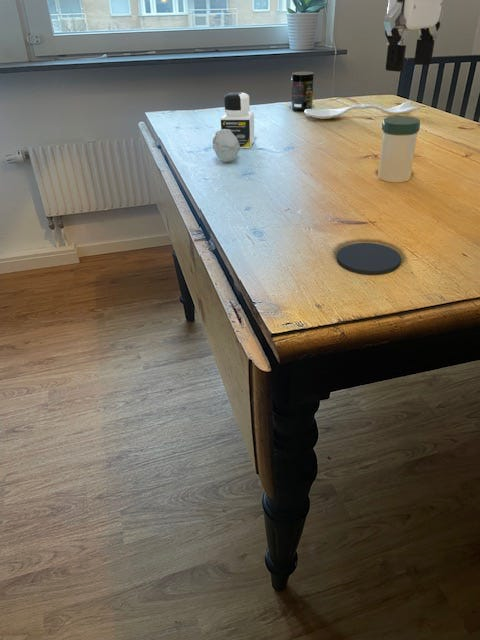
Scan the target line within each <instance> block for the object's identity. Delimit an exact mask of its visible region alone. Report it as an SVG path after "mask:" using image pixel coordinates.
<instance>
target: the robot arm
mask: <svg viewBox="0 0 480 640" xmlns="http://www.w3.org/2000/svg"><path fill="white" fill-rule="evenodd" d="M444 15H445V10H444V8H443V0H388V5H387V12H386V15H385V16H384V17H383V26H384V30H385V31H384V34H385V38H386V46H387V53H386V61H385V70H386V71H387V72H388V71H389V72H398V73H400V72H403V71H404V67H405V65H404V64H405V58H406V51H407V50H406V49H407V45H406V44H405V43H406V40H407V38H408V36H409V33H410V31H413V30H414V31H415V30H417V32H418V36H419V38H418V39H416V46H415V53H414V61H413V63H414V64H415V65H419V66H421V65H423V66H429V65H431V64H432V59H433V54H434V48H435V47H434V46H435V40H436V39H437V38H438V31H439V29H440V28H441V22H442V20H443V17H444ZM400 32H401V33H400Z"/></svg>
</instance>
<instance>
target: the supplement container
mask: <svg viewBox="0 0 480 640" xmlns="http://www.w3.org/2000/svg"><path fill="white" fill-rule="evenodd" d="M314 79H315V72H313V71H295V72H291V97H290V98H291V99H290V100H291V101H290V102H291V103H290V104H291V105H290V107H291V110H292V111H293V112H298V113H299V112H300V113H301V112H303V113H305V109H313V107H314V106H313V103H314V81H315V80H314Z"/></svg>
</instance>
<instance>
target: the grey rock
mask: <svg viewBox="0 0 480 640" xmlns="http://www.w3.org/2000/svg"><path fill="white" fill-rule="evenodd" d="M239 147H240V145H239V142H238V140H237V137H236V136H235V135H234V134H233V133H232V132H231V130H229V129H221V128H220V130H216V131H215V135H214V137H213V138H212V149H213V150H214V153H215V155H216V157H217V158H218V159H219V160H220V161H222V162H224V163H230V162H233V161H234V160H235V159H236V158H237V156H238V154H239V152H240V148H239Z"/></svg>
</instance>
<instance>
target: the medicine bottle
mask: <svg viewBox="0 0 480 640" xmlns="http://www.w3.org/2000/svg"><path fill="white" fill-rule="evenodd" d="M223 100H224V113H225V114H223V116H222V117H221V118H220V130H221V129H229V130H231V132H232V133H233V134H234V135H235V136H236V137H237V140H238V142H239V145H240V147H239V149H250V148H251V147H252V146H253V144H254V142H255V112H254V111H250V110H251V109H250V95H249V94H248V93H246V92H242V91H241V92H239V91H238V92H237V91H236V92H229V93H227V94H226V95H224V97H223Z"/></svg>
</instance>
